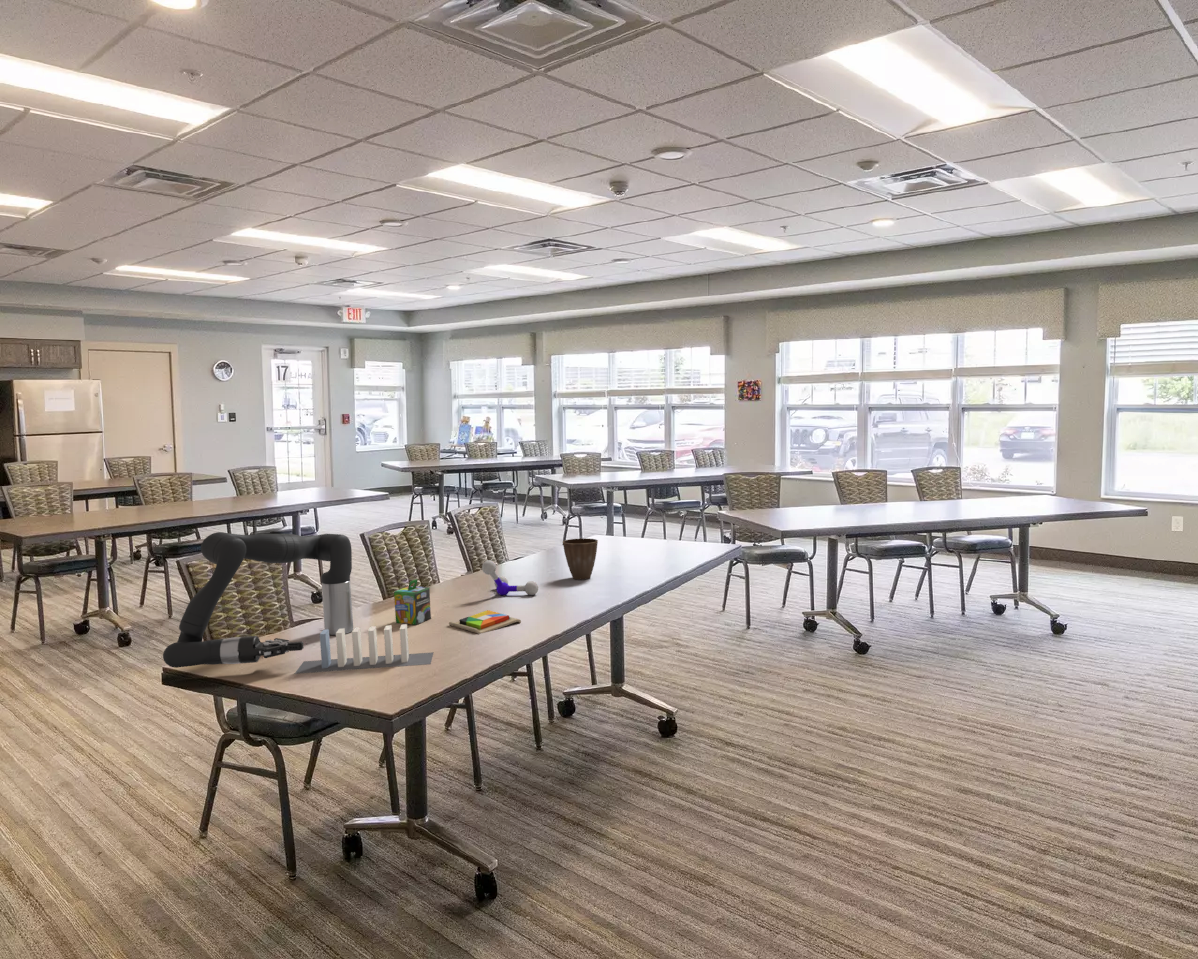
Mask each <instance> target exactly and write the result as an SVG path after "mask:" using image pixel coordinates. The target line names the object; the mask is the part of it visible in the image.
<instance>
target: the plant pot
mask: <svg viewBox="0 0 1198 959" xmlns="http://www.w3.org/2000/svg"><path fill="white" fill-rule="evenodd" d="M598 542H599V539H596V538H584V537H583V538H571V539H566V540H563V541H562V546H563V551H564V556H565V560H566V563H567V567H568V568H569V569H568V570H569V572H570V574H571V577H572V579H573V580H576V581H577V580H578V581H579V580H580V581H582V580H588V579H591V576H592V574H593V570H594V567H595V564H596V563H595V562H596V557H597V553H598V552H597V551H598Z"/></svg>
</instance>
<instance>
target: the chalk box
mask: <svg viewBox="0 0 1198 959" xmlns="http://www.w3.org/2000/svg"><path fill="white" fill-rule="evenodd" d="M430 594H431V592H430V587H427V586H418V578H416V579H412V580H410V581H409V582H408V586H404V587H403V588H400V589H398V590H394V591H393V595H394V596H393V597H394V598H393V599H394V613H395V624H401V625H403V624H407V625H413V626H417V625H419V624H422V623H424V622H427V621H429V620H431V619H432V614H431V595H430Z"/></svg>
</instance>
